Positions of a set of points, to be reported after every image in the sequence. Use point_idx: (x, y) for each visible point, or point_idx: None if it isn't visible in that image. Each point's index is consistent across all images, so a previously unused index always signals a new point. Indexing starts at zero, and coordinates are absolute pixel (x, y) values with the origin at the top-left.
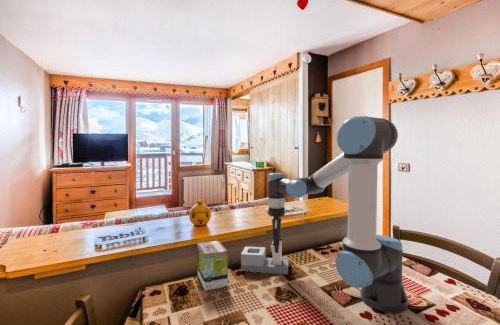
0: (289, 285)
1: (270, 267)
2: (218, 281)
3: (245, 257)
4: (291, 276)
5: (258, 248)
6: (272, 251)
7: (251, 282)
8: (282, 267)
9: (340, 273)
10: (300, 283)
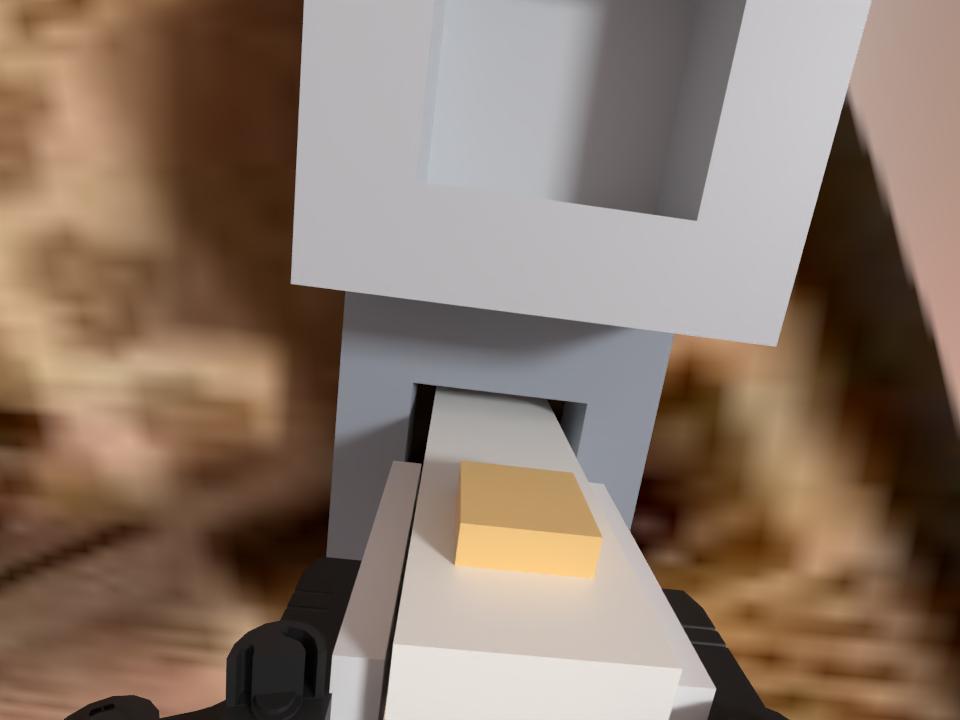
0: (95, 535)
1: (342, 373)
2: None
3: None
4: (300, 569)
5: (726, 176)
6: (418, 504)
7: (85, 105)
8: (330, 529)
9: None
10: (156, 634)
